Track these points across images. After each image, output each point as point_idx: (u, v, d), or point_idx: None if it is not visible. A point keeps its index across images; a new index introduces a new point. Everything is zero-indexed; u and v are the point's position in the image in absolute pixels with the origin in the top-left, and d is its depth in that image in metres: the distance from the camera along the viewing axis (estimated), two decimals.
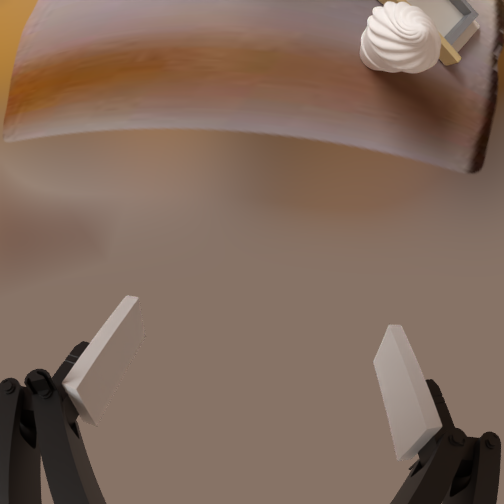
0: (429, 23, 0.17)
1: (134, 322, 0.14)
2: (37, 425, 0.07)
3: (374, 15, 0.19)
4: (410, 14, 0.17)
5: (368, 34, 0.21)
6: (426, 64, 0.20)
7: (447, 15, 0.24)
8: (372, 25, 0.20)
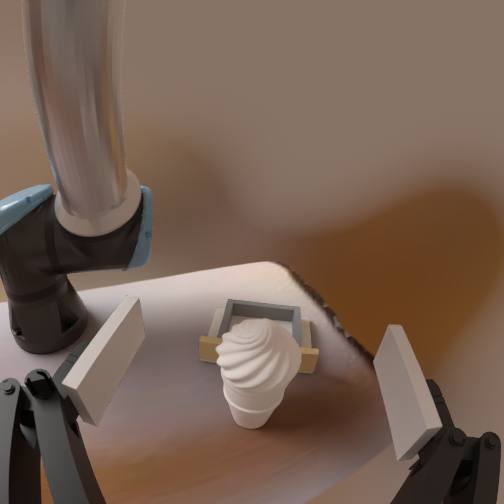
0: None
1: (134, 322, 0.14)
2: (37, 425, 0.07)
3: (219, 351, 0.26)
4: (247, 324, 0.27)
5: (226, 375, 0.25)
6: (294, 359, 0.26)
7: None
8: (223, 361, 0.25)
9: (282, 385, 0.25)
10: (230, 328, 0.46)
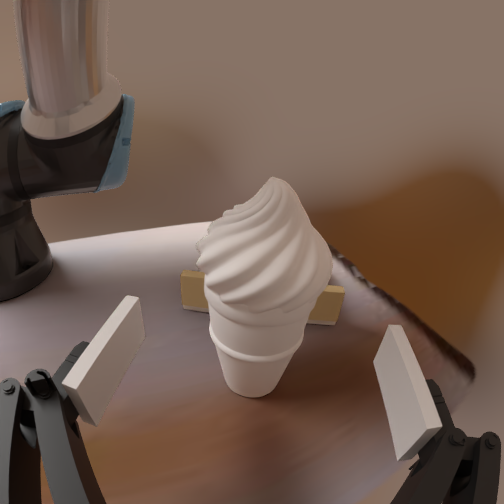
0: None
1: (134, 322, 0.14)
2: (37, 425, 0.07)
3: (201, 242, 0.17)
4: None
5: (210, 279, 0.15)
6: (324, 255, 0.16)
7: None
8: (207, 253, 0.16)
9: (307, 297, 0.15)
10: None
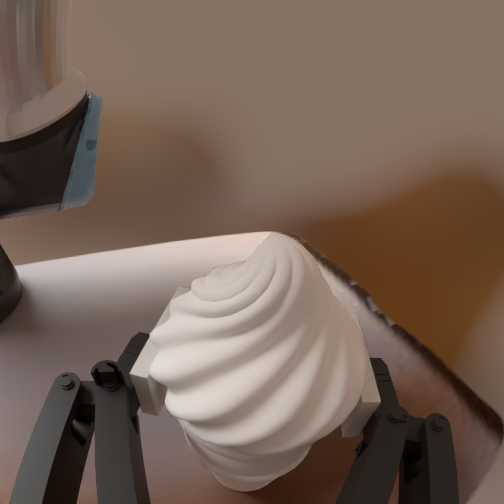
0: None
1: None
2: (96, 416, 0.08)
3: (154, 339, 0.09)
4: (230, 266, 0.10)
5: (169, 405, 0.08)
6: (357, 361, 0.09)
7: None
8: (160, 367, 0.08)
9: (325, 431, 0.08)
10: None
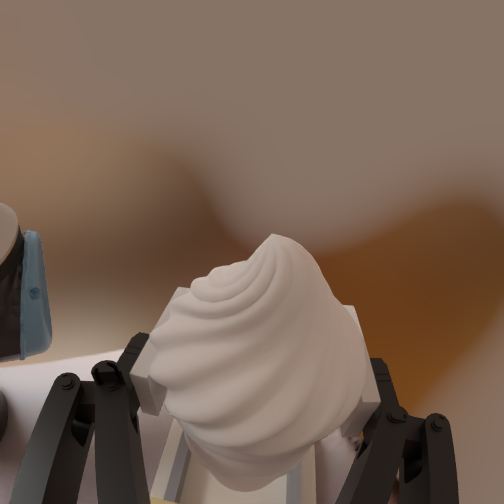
0: None
1: None
2: (96, 416, 0.08)
3: (154, 340, 0.09)
4: (230, 266, 0.10)
5: (169, 406, 0.08)
6: (357, 362, 0.09)
7: None
8: (159, 368, 0.08)
9: (325, 432, 0.08)
10: (191, 459, 0.24)
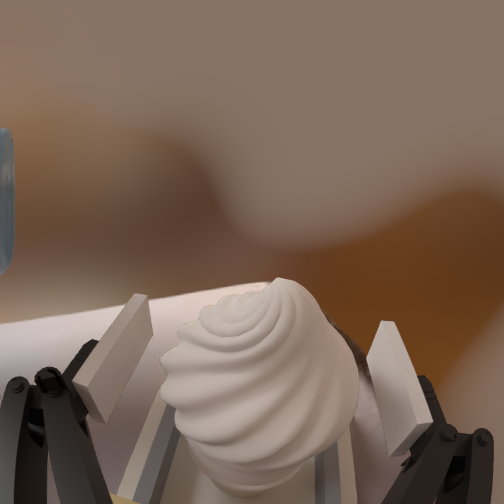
0: None
1: (142, 320, 0.14)
2: (46, 423, 0.07)
3: (165, 365, 0.10)
4: (237, 300, 0.11)
5: (179, 426, 0.09)
6: (350, 388, 0.10)
7: None
8: (171, 392, 0.09)
9: (320, 450, 0.09)
10: (180, 444, 0.18)
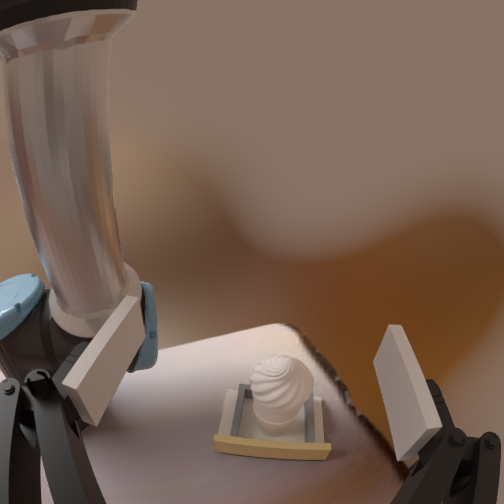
0: (289, 357, 0.36)
1: (134, 322, 0.14)
2: (37, 425, 0.07)
3: (253, 381, 0.34)
4: (274, 360, 0.35)
5: (258, 398, 0.33)
6: (309, 386, 0.33)
7: None
8: (257, 389, 0.33)
9: (300, 404, 0.33)
10: (242, 414, 0.42)
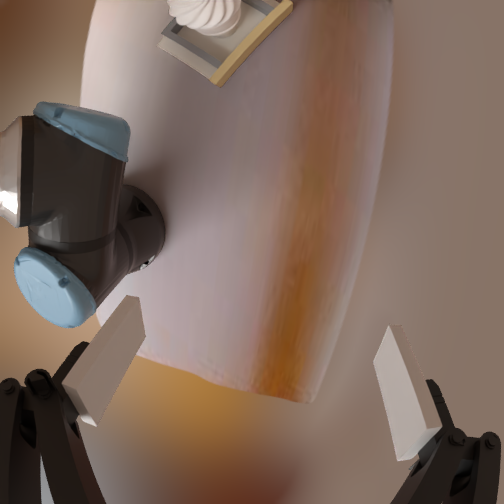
0: None
1: (134, 322, 0.14)
2: (37, 425, 0.07)
3: (189, 23, 0.23)
4: None
5: (209, 27, 0.24)
6: None
7: None
8: (200, 23, 0.23)
9: None
10: (194, 44, 0.34)
